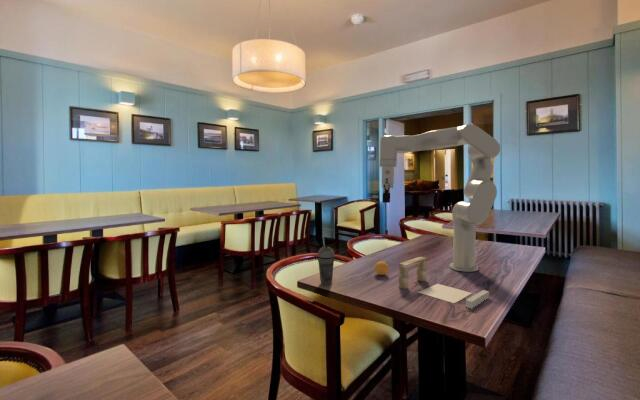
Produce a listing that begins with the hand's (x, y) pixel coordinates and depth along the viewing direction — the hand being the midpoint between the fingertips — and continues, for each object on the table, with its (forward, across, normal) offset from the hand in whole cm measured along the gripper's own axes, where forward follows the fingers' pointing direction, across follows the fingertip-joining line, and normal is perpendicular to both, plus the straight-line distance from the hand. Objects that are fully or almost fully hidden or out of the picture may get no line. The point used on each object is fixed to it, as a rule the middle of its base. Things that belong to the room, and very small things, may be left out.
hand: (386, 201), depth 149 cm
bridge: (+32, -15, -12) cm, 37 cm away
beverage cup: (+34, -21, +23) cm, 46 cm away
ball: (+29, -6, +1) cm, 30 cm away
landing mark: (+32, -24, -23) cm, 46 cm away
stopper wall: (+31, -31, -33) cm, 55 cm away
